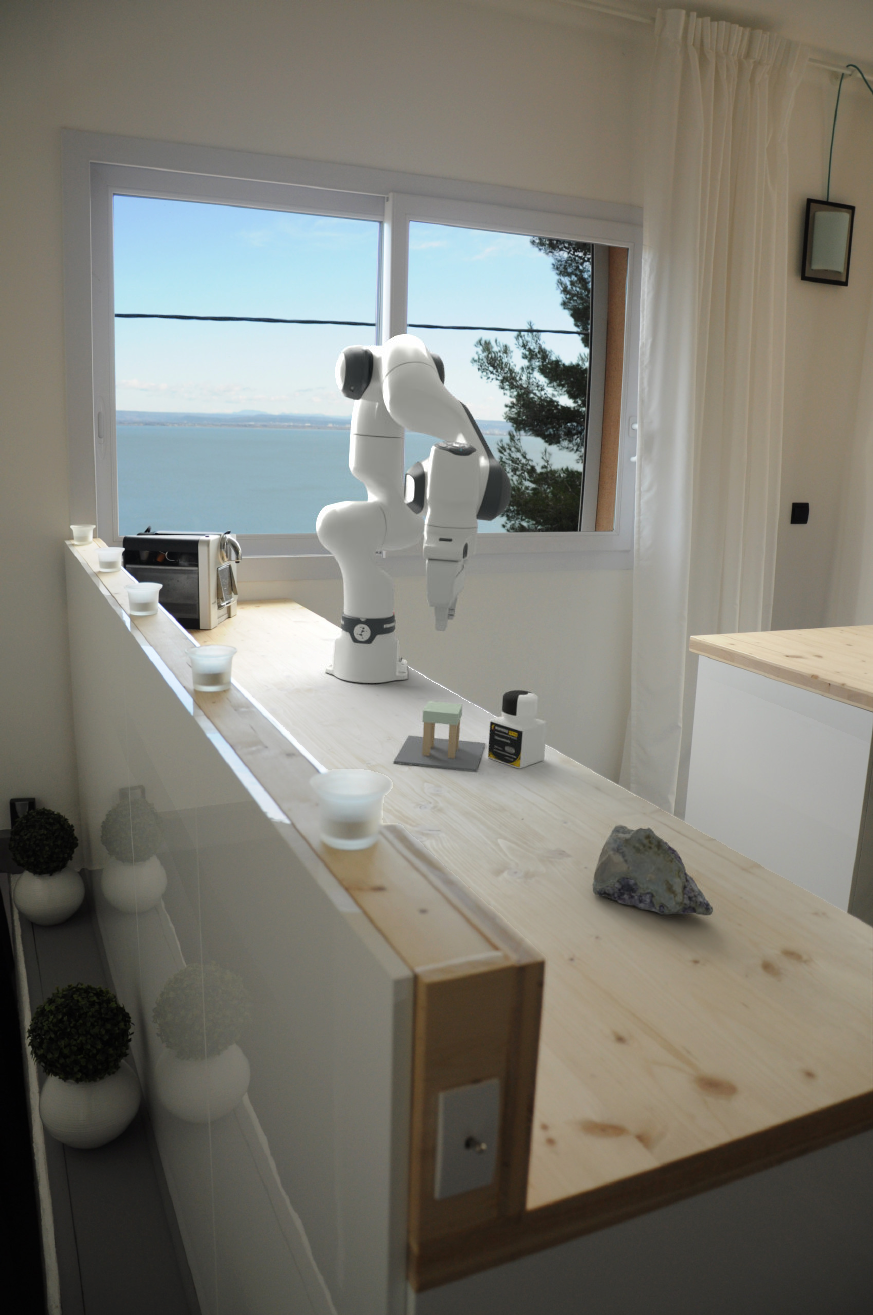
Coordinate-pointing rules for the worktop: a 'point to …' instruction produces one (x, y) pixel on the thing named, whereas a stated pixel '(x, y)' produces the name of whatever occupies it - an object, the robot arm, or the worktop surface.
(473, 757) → the mat
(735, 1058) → the worktop surface
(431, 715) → the stool
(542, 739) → the medicine bottle
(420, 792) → the worktop surface
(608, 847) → the mineral rock
